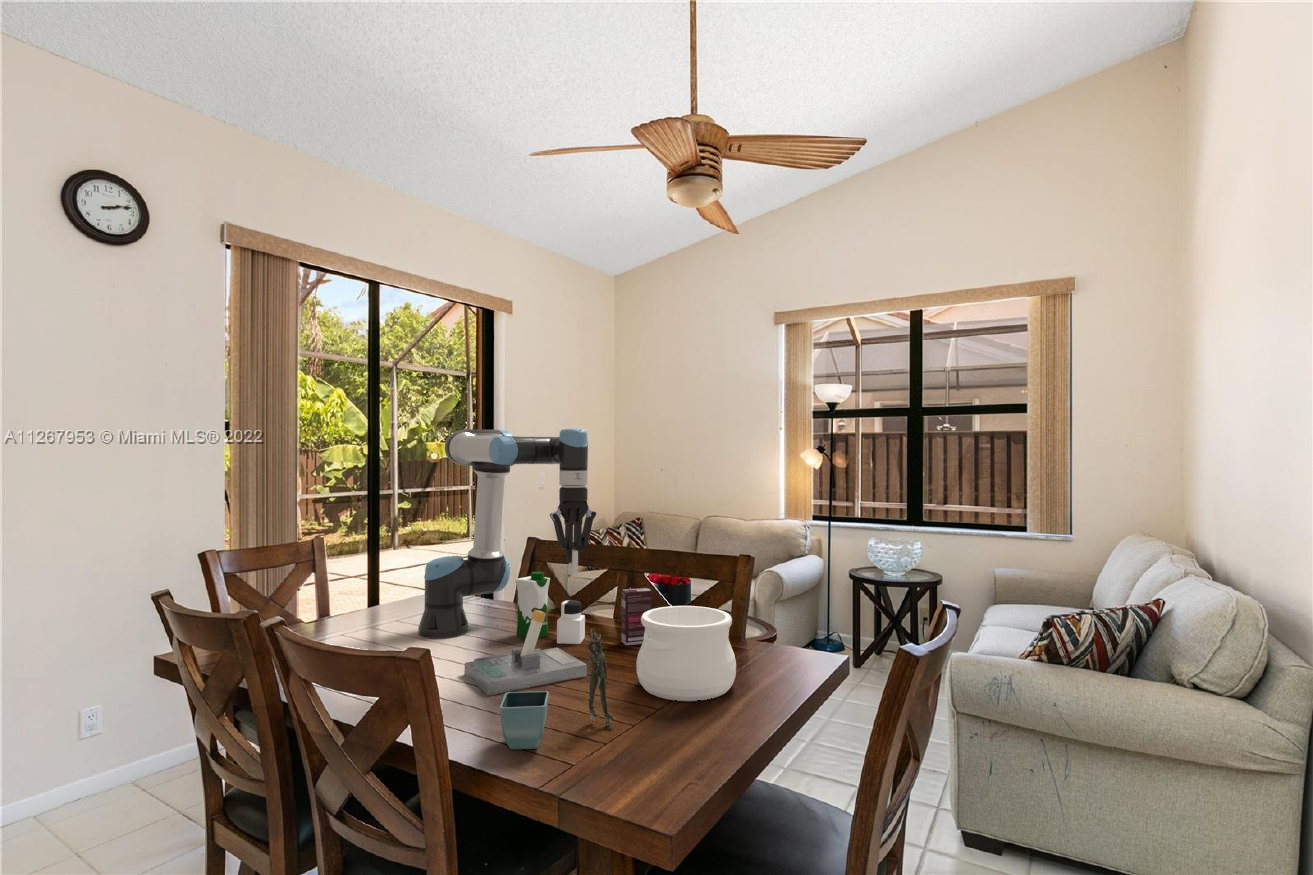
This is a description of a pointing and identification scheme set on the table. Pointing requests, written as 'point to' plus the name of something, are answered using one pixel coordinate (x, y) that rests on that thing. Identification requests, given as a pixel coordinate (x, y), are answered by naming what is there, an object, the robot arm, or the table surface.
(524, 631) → the milk carton
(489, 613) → the table surface
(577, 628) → the medicine bottle
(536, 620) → the lever
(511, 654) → the cords
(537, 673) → the panel
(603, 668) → the statue
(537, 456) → the robot arm
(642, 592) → the supplement box
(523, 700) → the flower pot
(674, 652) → the pot
